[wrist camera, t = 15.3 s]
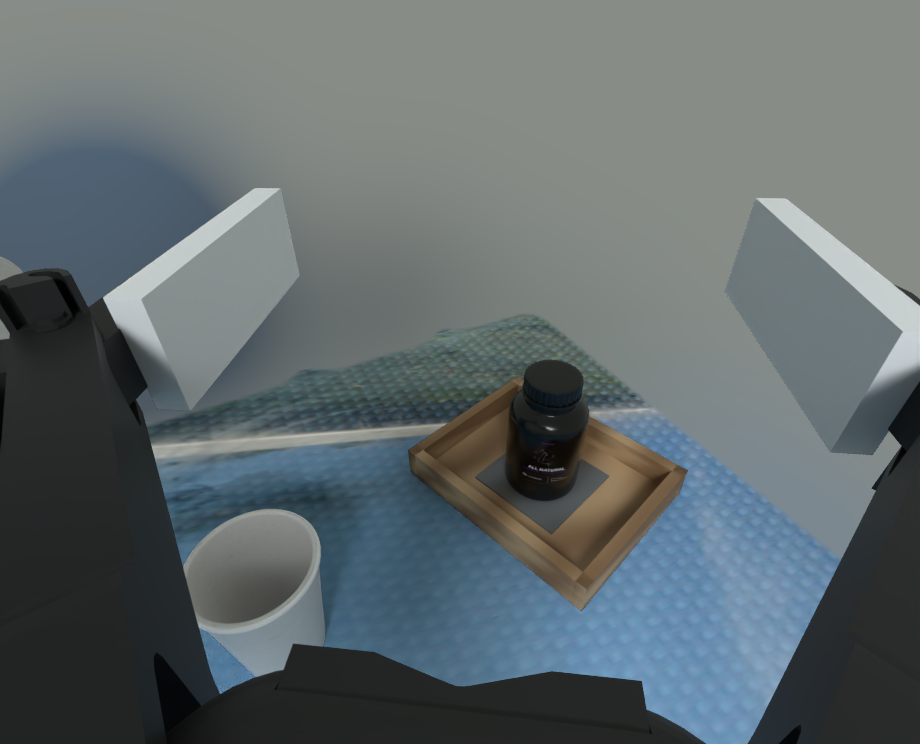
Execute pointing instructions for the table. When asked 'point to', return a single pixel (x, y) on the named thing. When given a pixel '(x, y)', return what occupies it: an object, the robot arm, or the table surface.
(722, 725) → the table surface
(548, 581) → the tray
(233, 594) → the dixie cup
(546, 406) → the supplement bottle
